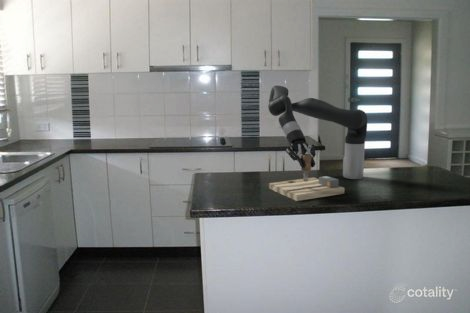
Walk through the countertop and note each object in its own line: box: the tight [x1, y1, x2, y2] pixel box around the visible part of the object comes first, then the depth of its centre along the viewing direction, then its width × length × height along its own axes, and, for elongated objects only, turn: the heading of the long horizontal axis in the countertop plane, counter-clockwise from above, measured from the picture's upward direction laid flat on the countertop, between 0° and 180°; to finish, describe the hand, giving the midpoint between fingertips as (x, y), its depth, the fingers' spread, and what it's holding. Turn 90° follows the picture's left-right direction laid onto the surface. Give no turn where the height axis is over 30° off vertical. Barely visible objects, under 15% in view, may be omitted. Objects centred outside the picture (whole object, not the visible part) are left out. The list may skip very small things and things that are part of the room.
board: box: [268, 176, 345, 202], centre depth 184 cm, size 22×24×3 cm
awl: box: [300, 154, 312, 182], centre depth 178 cm, size 4×4×11 cm
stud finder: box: [318, 175, 340, 188], centre depth 184 cm, size 8×4×3 cm, turn 26°
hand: (308, 166), depth 176 cm, fingers closed on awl, 4 cm apart
